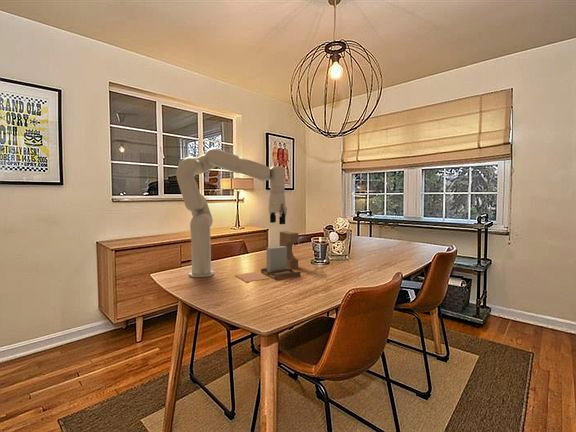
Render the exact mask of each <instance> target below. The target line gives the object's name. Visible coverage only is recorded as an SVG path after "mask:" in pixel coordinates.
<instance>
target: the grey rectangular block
mask: <svg viewBox="0 0 576 432" xmlns="http://www.w3.org/2000/svg"><path fill="white" fill-rule="evenodd" d="M266 268H267V272H269V271H276V270H283V269H287V247H285V246H280V245H278V246H269V247H266Z"/></svg>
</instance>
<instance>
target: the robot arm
mask: <svg viewBox="0 0 576 432" xmlns="http://www.w3.org/2000/svg"><path fill="white" fill-rule="evenodd" d="M217 167H218V168H220V169H224V170H226V171H229V172H232V173H235V174H242V175H245V176H249V177H251V178H254V179H257V180H259V181H261V182H263V181H264V182H265V181H269V187H270V188H269V198H268V199H269V200H268V212H269V223H270V224H274V223H276V222H277V221H276V220H277V219H276V218H277V215H276V214H277V213H278V214H279V217H278V218H279V220H278V221H279V225H286V217H287V210H288V208H287V206H286V196H285V193H286V190H285V186H286V185H285V183H286V181H285V180H286V179H285V178H286V177H285V174H286V171H285V167H284V166H279V165H278V166H276V165H275V166H267V165H266V164H262V163H259V162H256V161H253V160H251V159H248V158H246V157H245V158H244V157H242V156H239V155H236V154H234V153H230V152H227V151H226V150H222V149H219V148H216V147H210V148H208V149H206V152H205V154H202V155H200V156H198V157H194V156H188V157H185V158H184V159H182V160H181V161H180V162H179V164H178V166H177V168H176V181H177V184H178V187H179V190H180V193H181V195H182V199H183V203H184V206H185V208H186V209H187V210H188V211H190V213H191V215H192V218H191V220H190V223H189V224H190V225H189V229H190V238H191V240H190V241H191V242H190V243H191V246H190V247H191V271H189V272H188V276H189V277H190V278H200V279H201V278H208V277H211V276H213V275H214V274H215V271H214V270H212V259H211V258H212V252H211V251H212V248H211V247H212V246H211V243H212V242H211V227H212V225H213V222H214V221H213V217H212V214H211V211H210V210H211V209H210V208H209V205H208V202H207V198H206V197H205V196H204V195H203V194H201V191H200V190H199V187H198V183H197V181H196V179H195V176H197V175H201V174H203V173H206V172H208V171H211V170H213V169H214V168H217Z"/></svg>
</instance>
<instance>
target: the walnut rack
mask: <svg viewBox="0 0 576 432" xmlns="http://www.w3.org/2000/svg"><path fill="white" fill-rule="evenodd" d="M286 271H289V272H292V273H287V274H280V275H275V276H274V273H280V272H286ZM260 274H262V275H264V276H265V277H267V278H271V279H272V280H274V281H278V280H285V279H289V278H290V279H291V278H296V277H297V278H298V277H301V271H294V270H293V269H292V268H287V269H283V270H276V271H269V272H267V267H265V268H261V269H260Z"/></svg>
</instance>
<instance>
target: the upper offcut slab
mask: <svg viewBox="0 0 576 432" xmlns="http://www.w3.org/2000/svg"><path fill="white" fill-rule="evenodd" d="M287 273H292V272H289V271H286V272H280V273H274V275H273V276H275V275H280V274H287Z"/></svg>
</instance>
